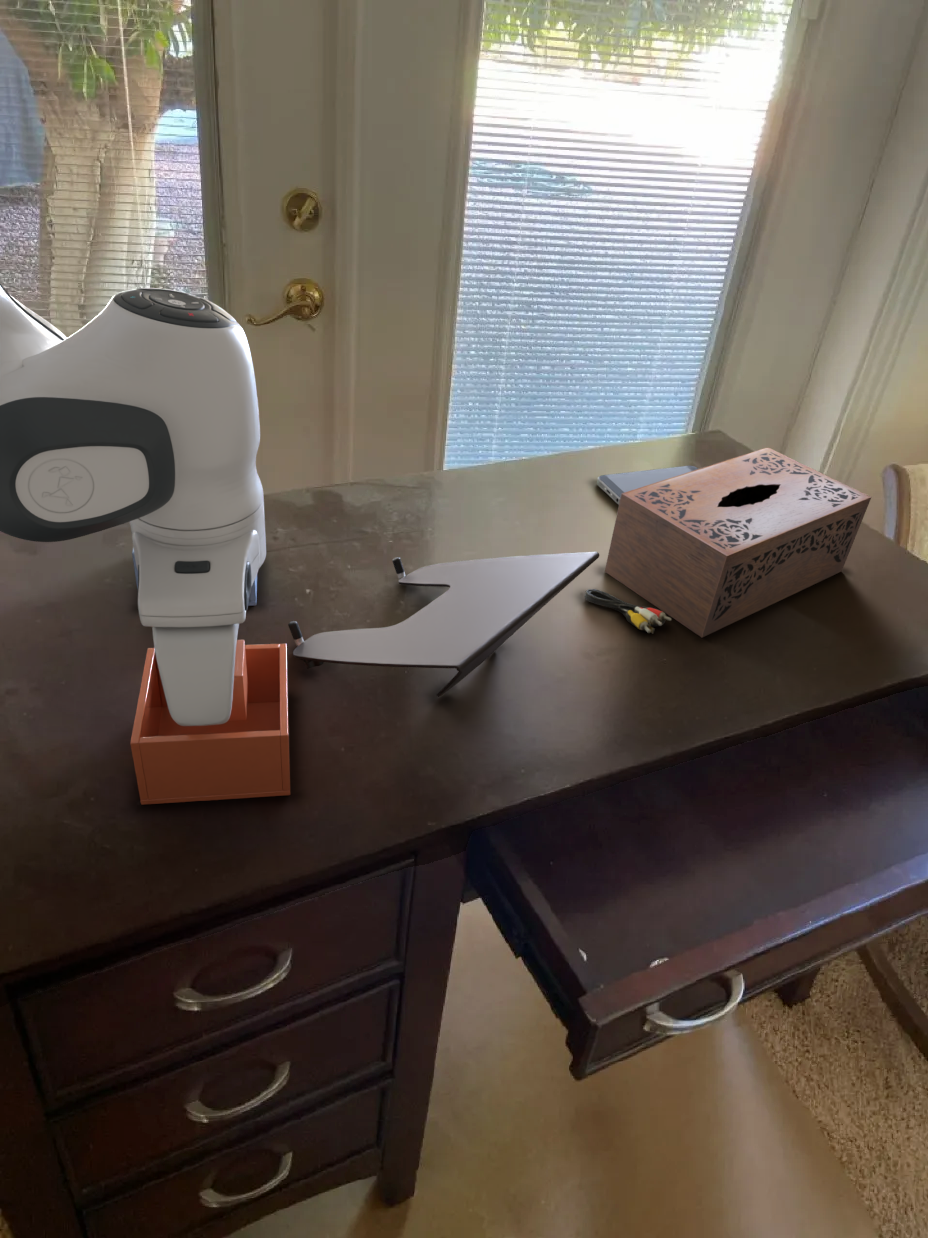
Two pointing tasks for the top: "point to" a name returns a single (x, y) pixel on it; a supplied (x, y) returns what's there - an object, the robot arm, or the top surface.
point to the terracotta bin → (215, 739)
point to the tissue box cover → (733, 537)
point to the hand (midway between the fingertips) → (215, 687)
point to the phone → (637, 480)
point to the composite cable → (629, 610)
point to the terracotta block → (239, 684)
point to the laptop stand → (452, 614)
